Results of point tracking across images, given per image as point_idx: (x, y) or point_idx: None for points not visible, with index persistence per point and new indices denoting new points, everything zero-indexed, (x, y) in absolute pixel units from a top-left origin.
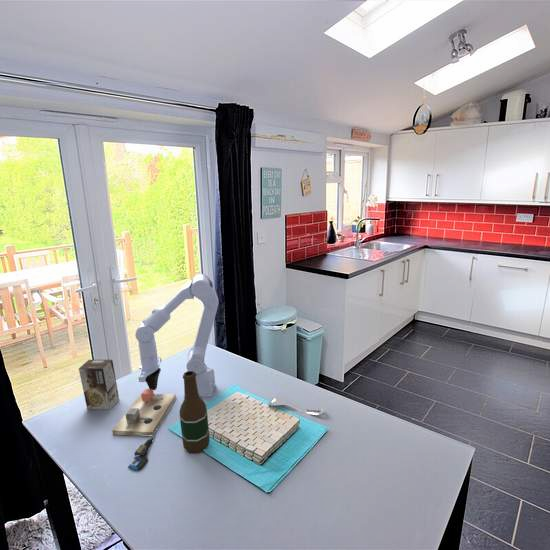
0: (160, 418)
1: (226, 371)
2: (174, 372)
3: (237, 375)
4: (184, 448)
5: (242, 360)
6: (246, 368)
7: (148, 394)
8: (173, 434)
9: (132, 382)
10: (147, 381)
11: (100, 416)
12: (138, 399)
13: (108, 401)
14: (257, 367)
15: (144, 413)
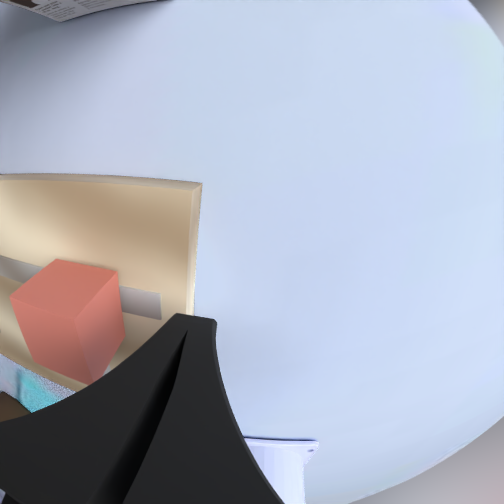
0: (16, 362)
1: (372, 475)
2: (481, 334)
3: (332, 492)
4: (1, 392)
5: (412, 476)
6: (363, 492)
7: (34, 352)
8: (14, 378)
9: (451, 48)
10: (108, 396)
11: (24, 17)
12: (91, 202)
13: (18, 2)
14: (356, 500)
15: (4, 294)
